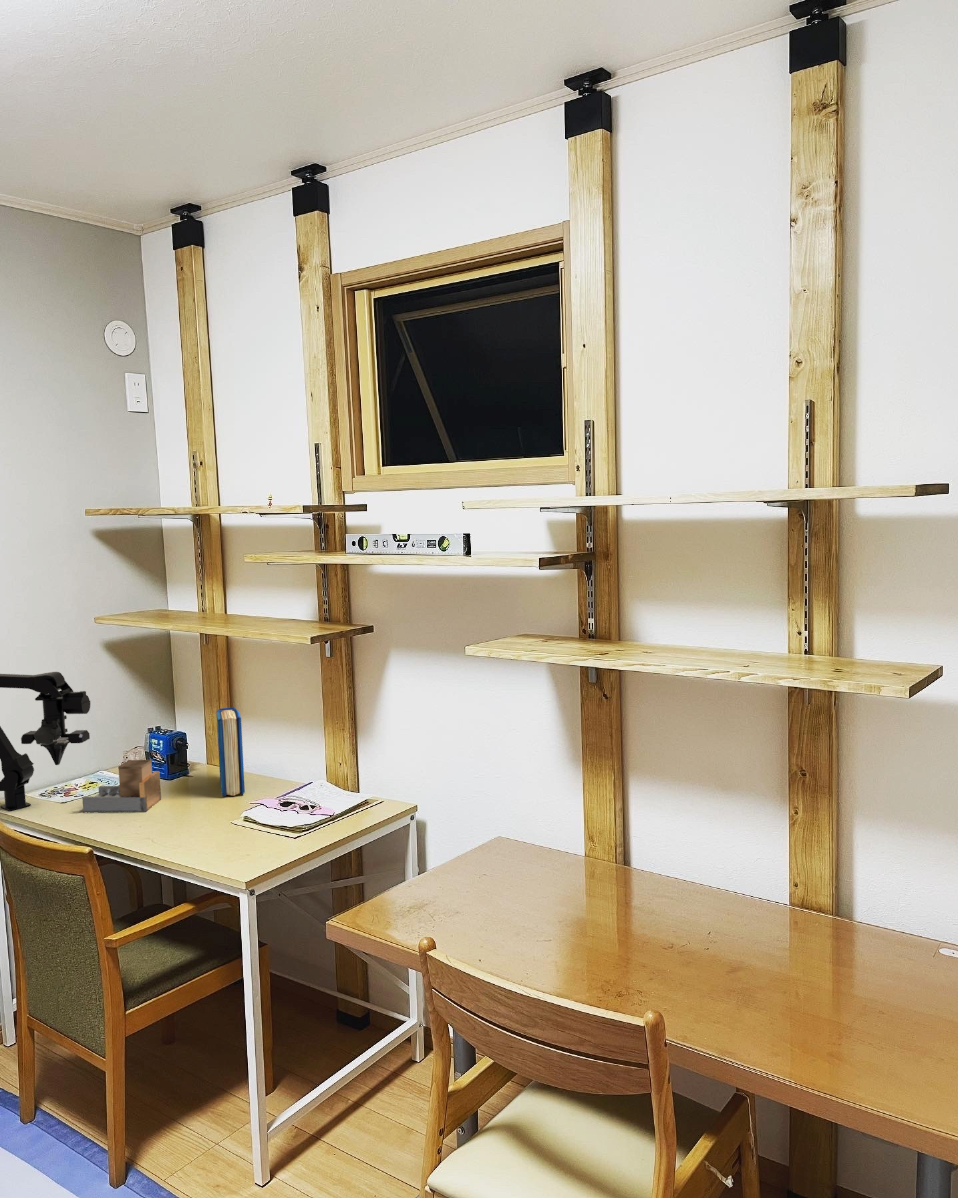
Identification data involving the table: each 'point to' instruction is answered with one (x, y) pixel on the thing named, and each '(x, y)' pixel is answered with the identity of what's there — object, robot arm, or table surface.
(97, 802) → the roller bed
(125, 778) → the brown wooden block
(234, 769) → the book
